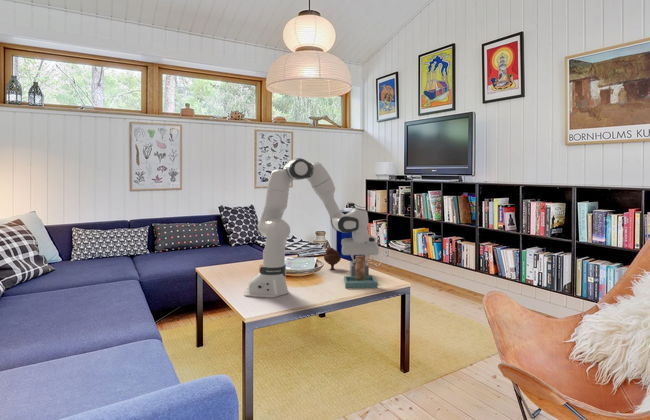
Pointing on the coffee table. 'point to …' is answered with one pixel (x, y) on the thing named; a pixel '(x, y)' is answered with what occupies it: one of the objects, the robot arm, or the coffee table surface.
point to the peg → (360, 268)
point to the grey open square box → (353, 268)
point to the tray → (360, 282)
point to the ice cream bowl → (332, 257)
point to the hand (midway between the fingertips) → (360, 262)
